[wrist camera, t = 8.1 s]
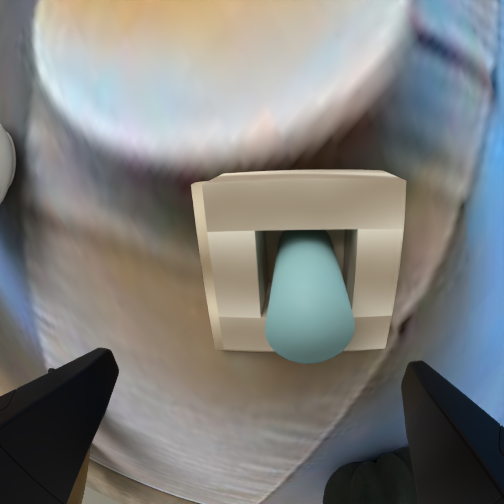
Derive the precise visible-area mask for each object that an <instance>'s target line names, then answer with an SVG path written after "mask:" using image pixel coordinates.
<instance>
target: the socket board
mask: <svg viewBox="0 0 504 504" xmlns="http://www.w3.org/2000/svg"><path fill="white" fill-rule="evenodd" d="M191 188H192V197H193V205H194V213H195V221H196V229H197V237H198V244H199V251H200V258H201V265H202V272H203V279H204V285H205V292H206V298H207V304H208V310H209V316H210V322H211V328H212V334H213V339H214V345H215V349H216V350H232V351H253V352H275V351H274V350H273V349H272V348H271V346H270V345H269V343H268V341H267V338H266V335H265V323H266V318H267V312H268V306H269V300H270V294H271V287H272V281H273V275H274V269H275V263H276V256H277V250H278V243H279V239H280V237H281V235H282V233H283V232H284V231H285V230H322V229H325V230H326V231H327V232H328V234H329V236H330V238H331V241H332V244H333V247H334V250H335V254H336V257H337V260H338V264H339V267H340V270H341V274H342V277H343V281H344V284H345V288H346V291H347V295H348V298H349V302H350V306H351V309H352V313H353V317H354V322H355V330H354V334H353V337H352V339H351V341H350V343H349V344H348V346H347V347H346V348H345V349H344V350H343V351H342V352H350V351H365V350H368V349H384V348H385V346H386V342H387V337H388V332H389V328H390V323H391V317H392V312H393V306H394V301H395V295H396V288H397V282H398V275H399V267H400V259H401V250H402V240H403V229H404V216H405V199H406V181H405V180H403V179H401V178H399V177H396V176H394V175H392V174H389V173H387V172H385V171H382V170H284V171H260V172H242V173H226V174H222V175H220V176H218V177H216V178H214V179H212V180H210V181H205V182H196V183H194V184H192V185H191Z"/></svg>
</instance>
